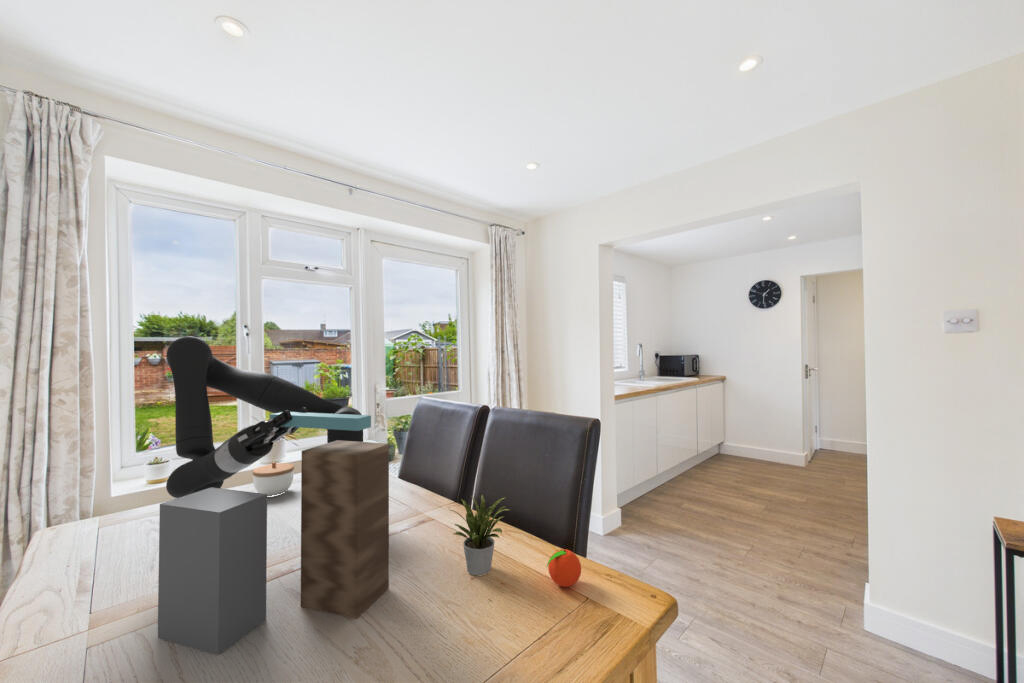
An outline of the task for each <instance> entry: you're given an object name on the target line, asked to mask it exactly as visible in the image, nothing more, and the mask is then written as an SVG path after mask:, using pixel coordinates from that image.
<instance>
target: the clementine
mask: <svg viewBox="0 0 1024 683" xmlns="http://www.w3.org/2000/svg"><path fill="white" fill-rule="evenodd" d="M546 569H547V570H548V573H549V576H550V578H551V579H552V581H553V582H554V583H555V584H556V585H558V586H560V587H562V588H563V587H564V588H568V587H572V586H574V585H575V584H576V583H577V582H578V581H579V579H580V577H581V576H582V565H581V561H580V558H579V557H578V556H577V555H576V553H574V552H573V551H572V550H569V549H567V548H566V549H564V548H562V549H559V550H556V551H554V553H553V554H551V556H550V558H549V559H548V562H547V564H546Z"/></svg>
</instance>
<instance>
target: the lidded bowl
mask: <svg viewBox="0 0 1024 683" xmlns="http://www.w3.org/2000/svg"><path fill="white" fill-rule="evenodd" d="M294 470H295V464H292V463H289V462H288V463H287V462H283V463H282V462H280V463H279V462H278V463H277V462H276V461H273V462H271V463H270V464H265V465H261V466H258V467H256V468H253V470H252V482H253V488H254V489H255V491H256V493H262V494H267V496H272V495H277V494H281V493H283V492H285V493H286V491H288V489H290V487H291V486H292V483H293V481H294V473H295V471H294Z"/></svg>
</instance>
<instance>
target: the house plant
mask: <svg viewBox="0 0 1024 683" xmlns="http://www.w3.org/2000/svg"><path fill="white" fill-rule="evenodd" d="M470 497H471V498H472V501H473V502H474V504H475V507H476V512H475V513H474V512H473V509H472V507H471V505H470V504H468V503H467V502H466V501H465V500H464V499H462V498H461V499H460V500H461V502H462V504H463V506H464V509H465V511H466V513H465V518H464V517H463V516H462V515H461V514H460V513H458V512H457V511H455V510H453V509H449V511H452V512H454V513H456V514H457V515H458V516H460V517H461V518H462V519H463V520H464V521H465V522H466V525H467V528H466V527H464V526H462V525H460V524H458V523H454V525H455V526H456V527H458V528H459V530H461V531H455V532H454V533H453V535H456V536H461V537H464V538H465V539H464V540H463V544H462V545H463V550H464V556H465V564H466V570H467V573H468V572H469V573H470V574H471V576H473V575H484V574H486V573H488V572H489V571H490V572H491V568H492V561H493V556H494V551H495V550H494V549H495V543H496V542H495V539H494V538H498V539H500V536H499V534H497V532H498V533H500V534H503V530H502V528H500V527H496V528H494V527H495V526H496V524H497V523H498V522H499V521H500V519H502V518H504V517H505V516H503V515H502V516H500V517H498V518H497V519H495V518H496V517H497V515H498V514H499V513H501V512H504V511H510V509H508V508H507V505H506V506H502V507H500V508H498V509H497V510H496V512H495V513H494V515H493V516H492V513H493V512H494V510H495V508H496V507H497V505H499V503H500V502H501V501H502V500H504V499H506V498H507V497H506V496H505V497H502V498H499V499H497V500H496V501H494V503H493V504H492V505H491V506H489V507H487V508H486V501H485V498H484V495H483V494H481V496H480V507H479V504H478V502H477V500H475V498H474V497H473V496H472V495H470ZM462 531H463V532H464V533H465V534H464V533H463V532H462ZM493 532H496V533H493ZM490 572H489V573H490ZM469 573H468V574H469ZM489 573H488V574H489ZM470 574H469V575H470ZM486 575H487V574H486ZM484 576H485V575H484Z"/></svg>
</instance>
